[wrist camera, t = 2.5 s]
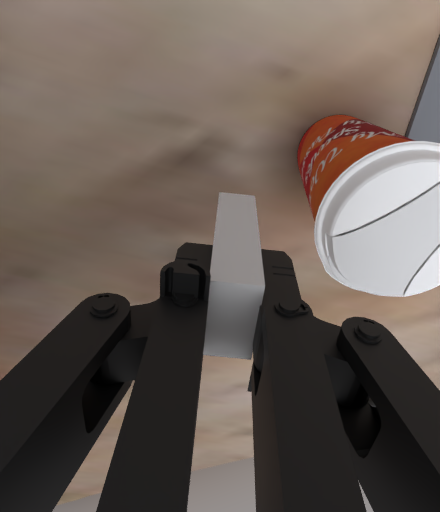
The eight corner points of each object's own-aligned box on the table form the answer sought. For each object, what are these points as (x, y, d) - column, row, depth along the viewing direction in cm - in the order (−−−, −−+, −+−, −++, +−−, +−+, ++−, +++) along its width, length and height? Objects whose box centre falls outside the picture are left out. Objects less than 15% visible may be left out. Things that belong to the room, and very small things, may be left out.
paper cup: (338, 74, 25) (432, 105, 13) (406, 146, 28) (539, 228, 16) (261, 160, 29) (281, 248, 17) (328, 218, 31) (389, 331, 19)
